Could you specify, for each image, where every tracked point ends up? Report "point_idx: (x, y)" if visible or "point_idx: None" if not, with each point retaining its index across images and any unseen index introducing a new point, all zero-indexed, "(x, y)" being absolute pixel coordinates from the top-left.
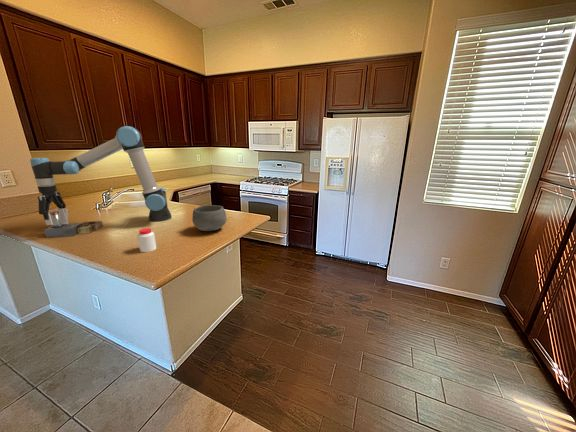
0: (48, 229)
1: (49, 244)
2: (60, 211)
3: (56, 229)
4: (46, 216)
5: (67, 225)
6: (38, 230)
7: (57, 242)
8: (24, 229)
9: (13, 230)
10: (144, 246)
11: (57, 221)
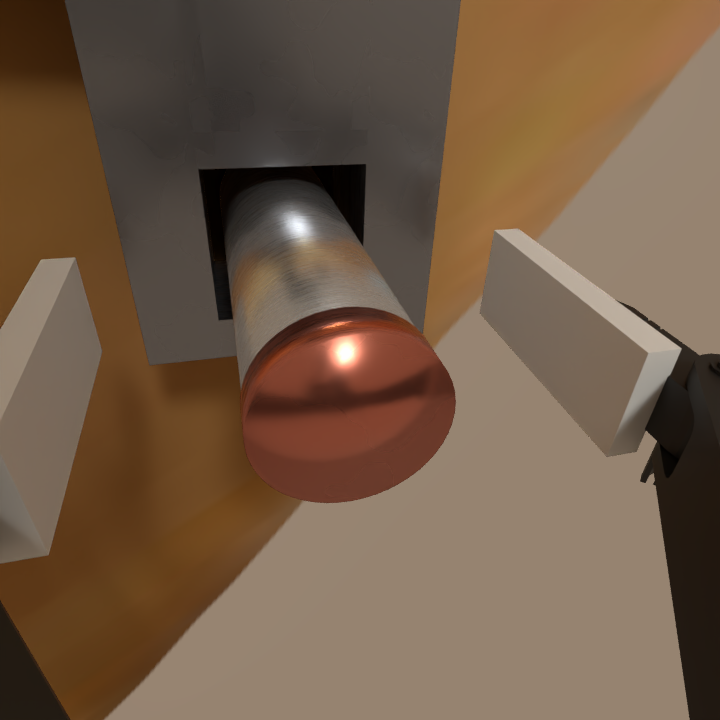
0: (426, 285)
1: (661, 72)
2: (51, 438)
3: (436, 174)
4: (676, 343)
5: (239, 104)
6: (107, 527)
7: (629, 3)
8: (81, 639)
9: (116, 675)
10: None
11: (361, 245)
